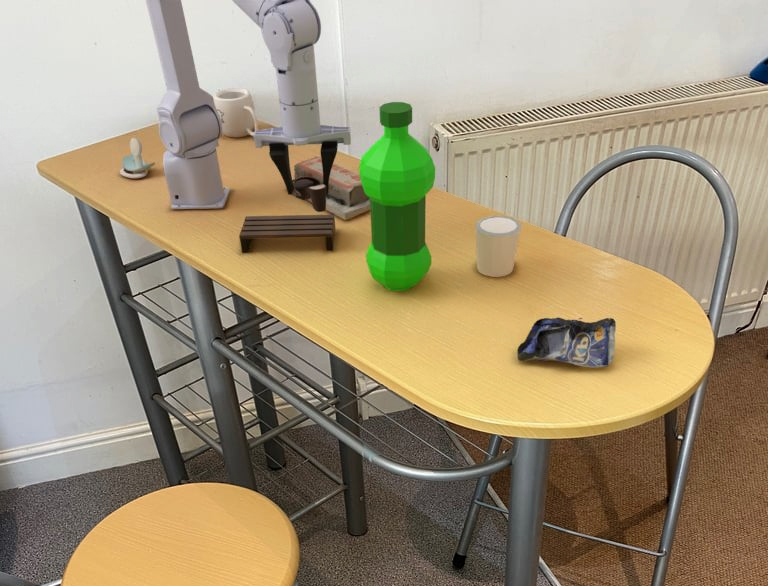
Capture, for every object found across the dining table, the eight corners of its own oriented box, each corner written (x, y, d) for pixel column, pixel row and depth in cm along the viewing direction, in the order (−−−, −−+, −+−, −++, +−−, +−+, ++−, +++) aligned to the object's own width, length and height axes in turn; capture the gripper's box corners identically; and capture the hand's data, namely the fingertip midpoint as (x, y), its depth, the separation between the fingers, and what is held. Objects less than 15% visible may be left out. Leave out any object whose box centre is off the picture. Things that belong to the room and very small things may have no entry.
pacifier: (137, 183, 147) (161, 172, 150) (127, 150, 142) (152, 139, 145) (113, 174, 150) (138, 163, 153) (103, 142, 145) (128, 131, 148)
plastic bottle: (423, 262, 121) (424, 90, 103) (438, 296, 114) (442, 117, 96) (361, 269, 120) (351, 97, 102) (372, 303, 113) (363, 125, 95)
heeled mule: (311, 184, 127) (308, 160, 124) (338, 208, 120) (335, 184, 117) (287, 191, 126) (282, 167, 123) (312, 216, 119) (308, 192, 116)
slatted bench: (242, 252, 125) (239, 235, 123) (248, 233, 130) (245, 216, 128) (332, 251, 125) (331, 233, 123) (335, 231, 130) (334, 214, 128)
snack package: (563, 394, 96) (627, 359, 101) (563, 349, 92) (630, 314, 97) (500, 365, 105) (562, 333, 109) (497, 321, 101) (561, 291, 105)
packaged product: (283, 164, 138) (326, 149, 143) (286, 190, 142) (328, 175, 146) (343, 194, 128) (388, 177, 133) (345, 222, 132) (389, 205, 136)
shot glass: (521, 260, 121) (525, 217, 116) (512, 281, 116) (516, 237, 111) (479, 254, 122) (481, 212, 117) (468, 275, 118) (470, 232, 113)
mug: (210, 134, 163) (202, 94, 158) (241, 123, 167) (235, 84, 162) (243, 148, 157) (237, 107, 151) (275, 136, 161) (270, 96, 155)
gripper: (246, 110, 109) (260, 204, 119) (347, 106, 109) (353, 200, 118) (251, 93, 114) (264, 185, 124) (348, 90, 114) (353, 182, 123)
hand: (308, 191), depth 121 cm, fingers closed on heeled mule, 5 cm apart
